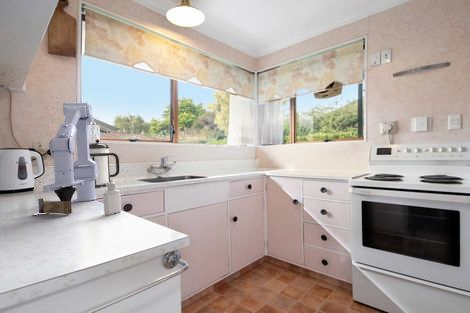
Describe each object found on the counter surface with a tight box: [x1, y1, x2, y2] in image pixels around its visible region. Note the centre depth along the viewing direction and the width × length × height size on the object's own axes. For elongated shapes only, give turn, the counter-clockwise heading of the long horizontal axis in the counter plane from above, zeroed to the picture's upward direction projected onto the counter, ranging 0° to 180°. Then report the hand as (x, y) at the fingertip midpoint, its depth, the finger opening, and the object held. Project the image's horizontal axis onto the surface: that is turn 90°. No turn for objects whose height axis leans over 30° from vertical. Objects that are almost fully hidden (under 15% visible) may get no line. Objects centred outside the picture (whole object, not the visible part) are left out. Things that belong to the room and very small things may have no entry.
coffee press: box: [87, 138, 120, 189], centre depth 155 cm, size 17×16×30 cm
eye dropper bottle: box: [102, 178, 122, 216], centre depth 85 cm, size 4×6×12 cm
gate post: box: [37, 197, 46, 213], centre depth 88 cm, size 5×5×6 cm
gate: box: [42, 200, 73, 215], centre depth 86 cm, size 12×2×4 cm, turn 75°
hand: (66, 207), depth 88 cm, fingers closed
